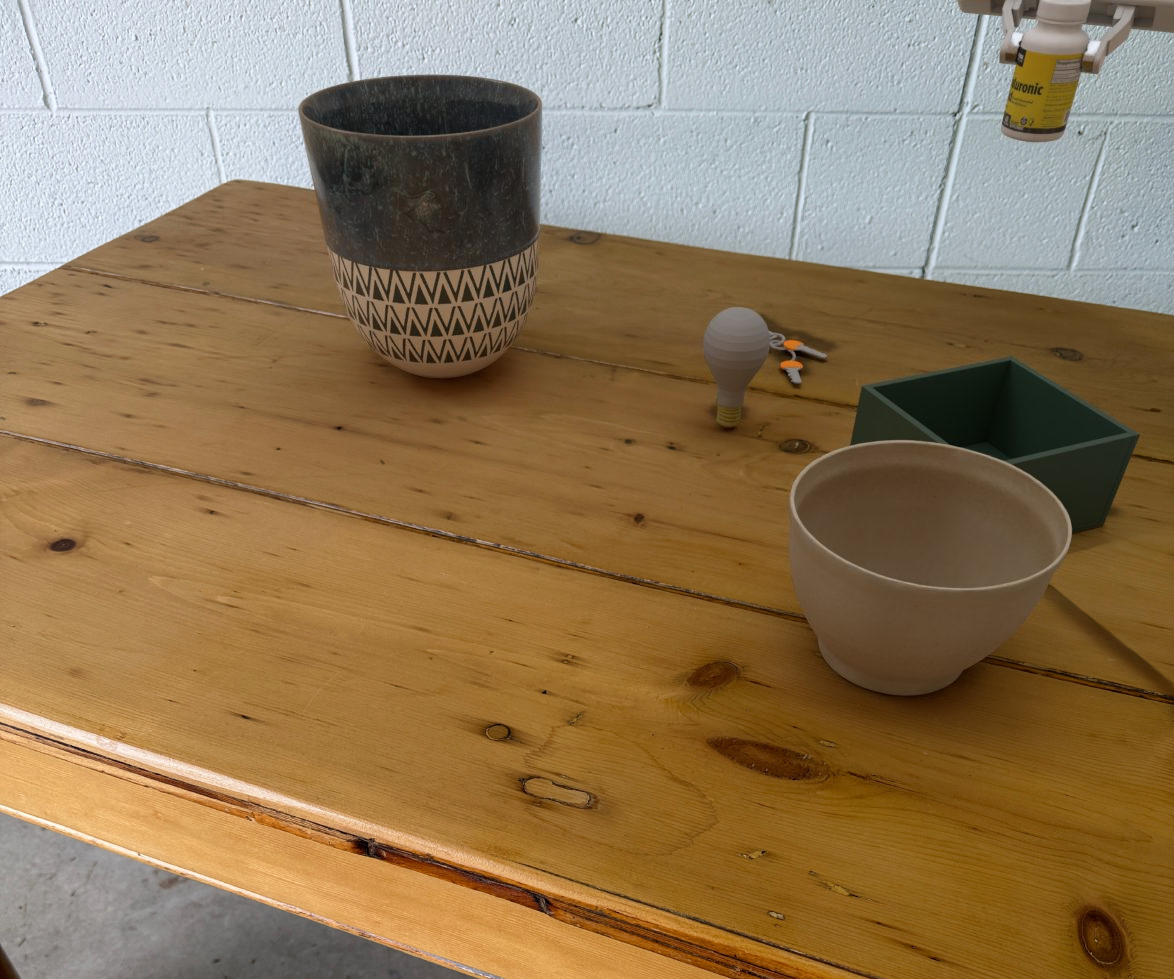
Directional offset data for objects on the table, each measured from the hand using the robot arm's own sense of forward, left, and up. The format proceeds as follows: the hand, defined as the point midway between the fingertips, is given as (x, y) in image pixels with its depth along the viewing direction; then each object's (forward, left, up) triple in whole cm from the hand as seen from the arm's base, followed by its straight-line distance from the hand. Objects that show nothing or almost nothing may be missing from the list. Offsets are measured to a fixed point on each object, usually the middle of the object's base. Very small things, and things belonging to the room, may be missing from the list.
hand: (1048, 64), depth 89 cm
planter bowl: (+37, +39, -23) cm, 59 cm away
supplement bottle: (-1, 0, -6) cm, 6 cm away
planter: (+51, -14, -23) cm, 58 cm away
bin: (+20, +25, -23) cm, 40 cm away
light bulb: (+32, +7, -23) cm, 40 cm away
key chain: (+21, -4, -23) cm, 31 cm away
